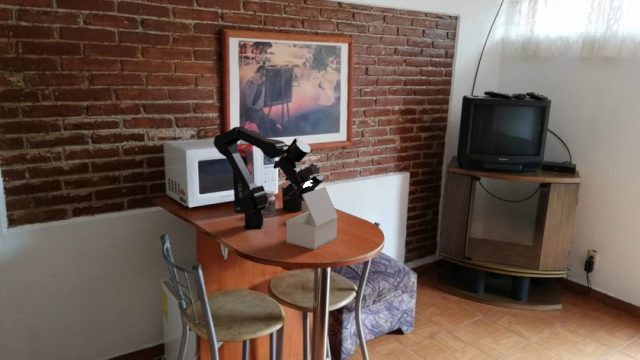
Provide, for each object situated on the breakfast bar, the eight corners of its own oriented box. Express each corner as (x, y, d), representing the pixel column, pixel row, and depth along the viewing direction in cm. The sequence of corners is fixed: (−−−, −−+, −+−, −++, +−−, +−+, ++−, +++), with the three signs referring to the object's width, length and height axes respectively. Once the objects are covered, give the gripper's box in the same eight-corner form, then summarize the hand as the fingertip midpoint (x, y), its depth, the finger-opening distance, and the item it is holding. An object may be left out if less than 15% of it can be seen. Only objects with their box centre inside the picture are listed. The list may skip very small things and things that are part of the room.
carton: (286, 242, 168) (286, 220, 166) (309, 231, 179) (309, 211, 177) (315, 249, 161) (315, 227, 159) (336, 238, 173) (337, 216, 171)
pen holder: (305, 212, 204) (305, 189, 202) (283, 213, 202) (283, 190, 200) (301, 206, 213) (301, 184, 211) (280, 207, 211) (280, 185, 209)
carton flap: (301, 194, 160) (303, 194, 160) (323, 187, 171) (325, 186, 171) (315, 226, 160) (316, 226, 159) (336, 216, 171) (338, 216, 170)
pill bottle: (272, 217, 196) (272, 194, 194) (259, 216, 197) (259, 193, 195) (277, 213, 201) (277, 190, 199) (264, 212, 203) (264, 189, 201)
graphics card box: (249, 213, 201) (248, 149, 195) (233, 213, 201) (231, 149, 195) (255, 202, 218) (254, 143, 212) (240, 202, 218) (238, 143, 212)
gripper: (288, 160, 157) (316, 197, 154) (319, 152, 173) (345, 186, 169) (270, 180, 163) (296, 217, 160) (302, 171, 179) (326, 204, 175)
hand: (317, 205), depth 166 cm, fingers closed, pressing on carton flap
